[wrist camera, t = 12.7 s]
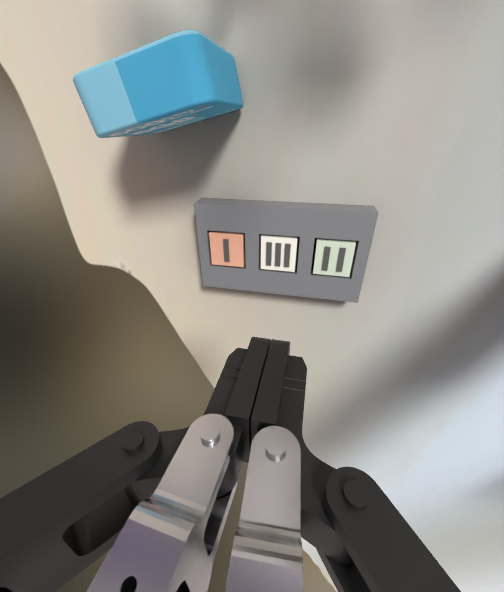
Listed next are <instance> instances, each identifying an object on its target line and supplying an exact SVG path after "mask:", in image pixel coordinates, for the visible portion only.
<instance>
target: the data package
mask: <svg viewBox="0 0 504 592" xmlns="http://www.w3.org/2000/svg"><path fill="white" fill-rule="evenodd" d="M73 82H74V84H75V87H76V89H77V91H78V93H79V96H80V98H81V100H82V103H83V105H84V107H85V110H86V112H87V114H88V117H89V119H90V121H91V124H92V126H93V128H94V131H95V133H96V135H97V136H98V137H99V138H109V137H121V136H134V135H147V134H156V133H160V132H164V131H168V130H171V129H175V128H178V127H181V126H185V125H188V124H192V123H195V122H198V121H202V120H205V119H208V118H212V117H215V116H218V115H222V114H225V113H229V112H232V111H235V110H238V109H240V108H242V107H243V100H242V95H241V90H240V85H239V80H238V75H237V70H236V65H235V60H234V56H233V55H232V54H230V53H229V52H227V51H226V50H224V49H223V48H222V47H220V46H219V45H217V44H216V43H215V42H213V41H212V40H210V39H209V38H207V37H206V36H205V35H203V34H202V33H200V32H199V31H195V30H186V31H180V32H177V33H174V34H171V35H169V36H166V37H164V38H162V39H159V40H157V41H154V42H152V43H149V44H147V45H145V46H142V47H140V48H137V49H135V50H132V51H130V52H128V53H125V54H123V55H120V56H118V57H116V58H113V59H111V60H108V61H106V62H103V63H101V64H99V65H96V66H94V67H91V68H89V69H87V70H84V71H82V72H79V73H77V74H76V75H75V76H74V77H73Z"/></svg>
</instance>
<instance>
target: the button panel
mask: <svg viewBox="0 0 504 592" xmlns="http://www.w3.org/2000/svg"><path fill="white" fill-rule="evenodd" d="M194 210H195V219H196V228H197V237H198V246H199V255H200V264H201V273H202V281H203V286H209V287H218V288H227V289H236V290H245V291H255V292H264V293H273V294H282V295H291V296H301V297H310V298H319V299H328V300H337V301H347V302H356V303H358V299H359V294H360V290H361V286H362V281H363V277H364V273H365V268H366V264H367V260H368V255H369V251H370V247H371V242H372V238H373V234H374V229H375V225H376V220H377V216H378V212H377V210H376V208H375V206H361V205H339V204H318V203H297V202H276V201H255V200H233V199H212V198H202V199H200V200H198V201H197V202H195V203H194ZM210 231H224V232H238V233H245V259H246V264H245V266H244V267H236V266H225V265H214V264H212V260H211V249H210V238H209V232H210ZM262 234H267V235H281V236H296V237H300V242H299V254H298V265H296V268H295V272H289V271H279V270H268V269H261V236H262ZM315 238H324V239H339V240H353V241H356V246H355V251H354V256H353V261H352V266H351V271H350V276H349V277H343V276H333V275H322V274H313V266H312V257H313V249H314V240H315Z"/></svg>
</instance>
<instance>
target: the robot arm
mask: <svg viewBox="0 0 504 592" xmlns="http://www.w3.org/2000/svg"><path fill="white" fill-rule="evenodd" d="M289 353H290V342H288V341H280V340H273V339H272V340H271V339H265V338H258V337H252V338H251V341H250V344H249V346H248V349H242V348H237V349H236V350H235V351H234V352H232V353H231V354H230V355H229V356H228V359H227V361H226V363H225V366H224V369H223V371H222V373H221V375H220V378H219V380H218V382H217V385H216V387H215V390H214V392H213V394H212V397H211V399H210V402H209V404H208V406H207V409H206V411H205V413H204V415H203V416H201V417H199V418H198V419H197V420H195V421H194V422H193V423H192V424H191V426H189V427H187V428H184V429H180V430H174V431H165V432H158V430H157V428H156V427H155V426H154V425H153V424H151V423H149V422H144V421H140V422H134V423H132V424H129V425H127V426H125V427H123V428H122V429H120V430H118V431H117V432H115V433H113V434H111V435H110V436H108V437H106V438H104V439H103V440H101V441H99V442H97V443H96V444H94V445H92V446H91V447H89V448H87V449H85V450H84V451H82V452H80V453H78V454H77V455H75V456H73V457H71V458H70V459H68V460H66V461H64V462H63V463H61V464H59V465H58V466H56V467H54V468H52V469H51V470H49V471H47V472H45V473H44V474H42V475H40V476H38V477H37V478H35V479H33V480H32V481H30V482H28V483H26V484H25V485H23V486H21V487H19V488H18V489H16V490H14V491H13V492H11V493H9V494H7V495H6V496H4V497H2V498H0V592H56V591H57V590H58V589H60V588H61V587H62V586H63V585H65V584H66V583H67V582H69V581H70V580H71V579H72V578H74V577H75V576H76V575H78V574H79V573H80V572H81V571H83V570H84V569H85V568H86V567H88V566H89V565H90V564H92V563H93V562H94V561H95V560H97V559H98V558H99V557H100V556H102V555H103V554H104V553H106V552H107V551H108V550H109V549H111V550H110V552H109V553H108V555H107V557H106V559H105V560H104V562H103V564H102V566H101V568H100V569H99V571H98V573H97V574H96V576H95V578H94V580H93V581H92V583H91V585H90V587H89V588H88V590H87V592H207V590H208V586H209V582H210V577H211V572H212V565H213V560H214V556H215V553H216V549H217V546H218V543H219V540H220V537H221V534H222V531H223V527H224V524H225V521H226V518H227V515H228V512H229V509H230V506H231V503H232V500H233V497H234V493H235V490H236V486H237V480H238V476H239V472H240V468H241V464H242V461H243V462H248V469H247V476H246V482H245V489H244V496H243V501H242V508H241V515H240V521H239V526H238V529H237V531H236V534H235V538H234V543H233V548H232V554H231V559H230V565H229V572H228V578H227V584H226V590H225V592H303V557H302V542H301V537H302V538H303V539H305V540H306V541H307V542H309V543H310V544H312V545H313V546H314V547H316V549H317V551H318V553H319V555H320V557H321V559H322V561H323V563H324V565H325V567H326V569H327V571H328V573H329V575H330V577H331V579H332V581H333V583H334V585H335V586H336V588H337V590H338V592H461V591H460V590H459V589H458V587H457V586H456V585H455V584H454V582H453V581H452V580H451V578H450V577H449V576H448V575H447V573H446V572H445V571H444V569H443V568H442V567H441V566H440V564H439V563H438V562H437V560H436V559H435V558H434V557H433V555H432V554H431V553H430V551H429V550H428V549H427V548H426V546H425V545H424V544H423V542H422V541H421V540H420V539H419V537H418V536H417V535H416V533H415V532H414V531H413V530H412V528H411V527H410V526H409V524H408V523H407V522H406V521H405V519H404V518H403V517H402V515H401V514H400V513H399V512H398V510H397V509H396V508H395V506H394V505H393V504H392V503H391V501H390V500H389V499H388V497H387V496H386V495H385V494H384V492H383V491H382V490H381V488H380V487H379V486H378V485H377V483H376V482H375V481H374V480H373V479H372V478H371V477H370V476H369V475H368V474H366V473H365V472H363V471H361V470H359V469H357V468H353V467H341V468H338V469H335V468H333V467H331V466H329V465H328V464H326V463H324V462H322V461H321V460H319V459H318V458H316V457H315V456H314V455H313V454H312V453H311V452H310V451H309V450H308V448H307V447H306V445H305V443H304V440H303V436H302V423H303V411H304V399H305V387H306V374H307V367H306V365H305V363H304V360H303V358H302V357H296V356H290V355H289Z"/></svg>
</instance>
